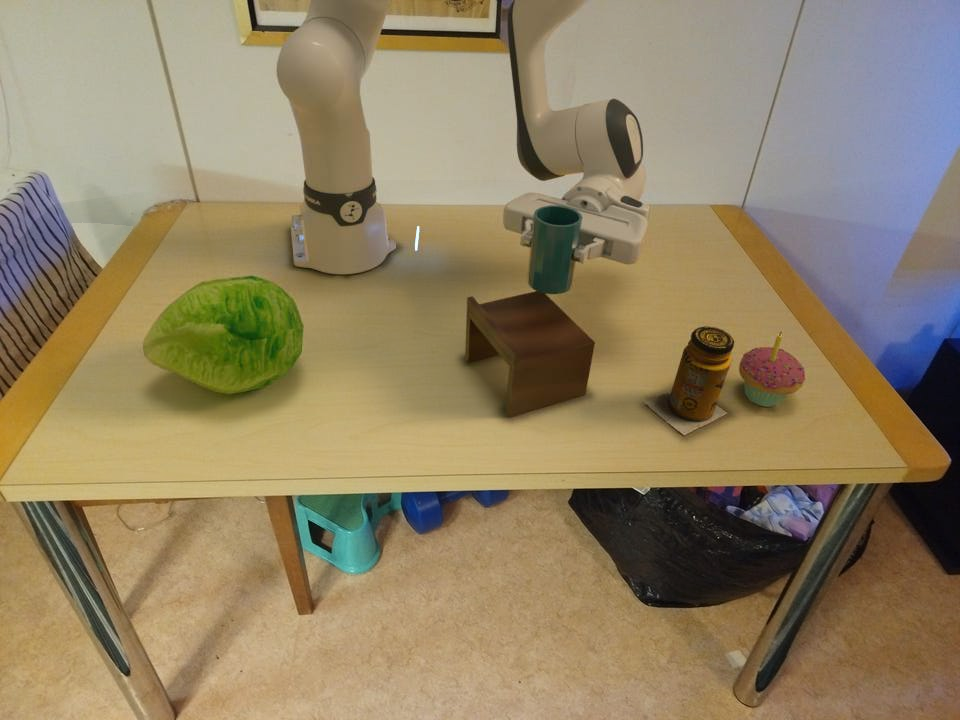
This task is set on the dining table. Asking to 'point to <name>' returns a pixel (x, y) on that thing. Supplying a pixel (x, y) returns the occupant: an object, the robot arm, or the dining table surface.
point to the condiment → (697, 381)
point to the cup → (553, 249)
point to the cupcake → (770, 374)
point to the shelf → (531, 349)
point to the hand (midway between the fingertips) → (551, 249)
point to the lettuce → (228, 335)
